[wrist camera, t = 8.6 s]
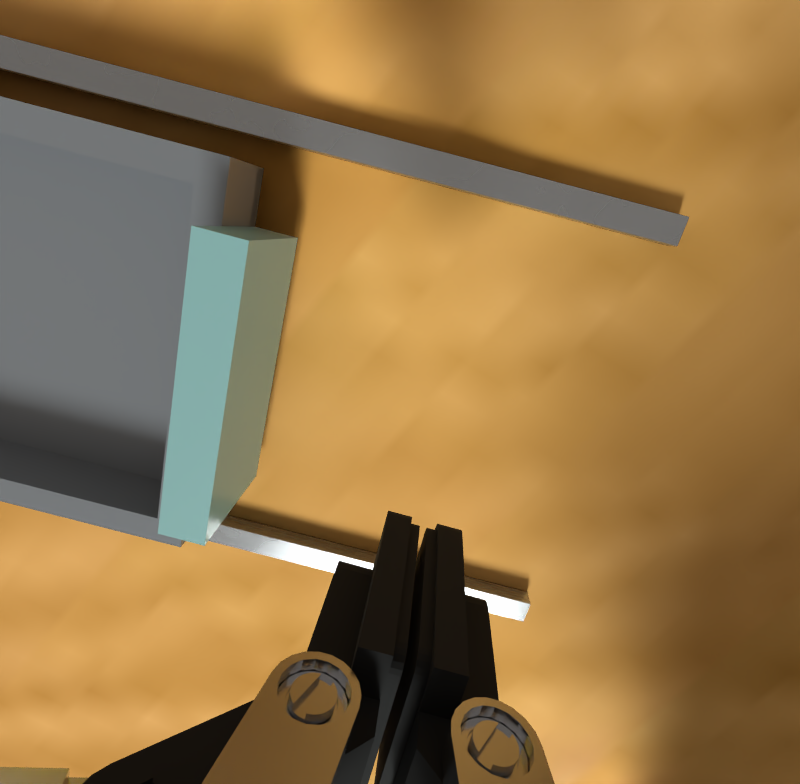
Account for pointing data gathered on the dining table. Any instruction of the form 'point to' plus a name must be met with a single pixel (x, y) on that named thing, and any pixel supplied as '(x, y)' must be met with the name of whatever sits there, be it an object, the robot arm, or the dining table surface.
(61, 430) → the drawer
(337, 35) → the dining table surface
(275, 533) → the rails
